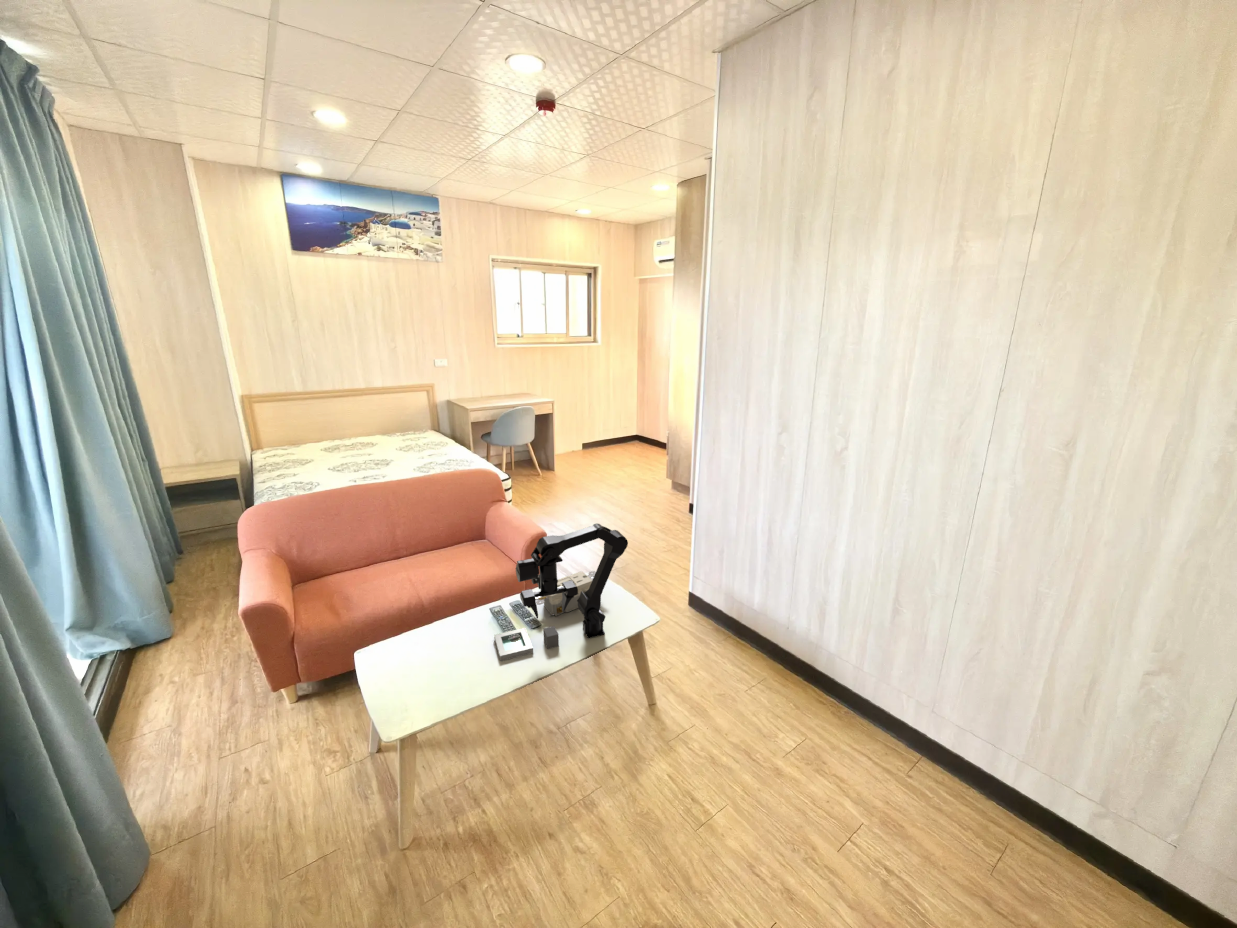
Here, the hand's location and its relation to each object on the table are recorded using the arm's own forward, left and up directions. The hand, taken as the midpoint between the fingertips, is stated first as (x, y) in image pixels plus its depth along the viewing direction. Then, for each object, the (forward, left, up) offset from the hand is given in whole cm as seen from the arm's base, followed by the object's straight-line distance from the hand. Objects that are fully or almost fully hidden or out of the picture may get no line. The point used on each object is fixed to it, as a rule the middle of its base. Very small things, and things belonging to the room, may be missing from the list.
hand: (550, 614), depth 165 cm
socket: (+13, -3, -12) cm, 17 cm away
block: (0, 0, -12) cm, 12 cm away
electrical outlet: (-13, -21, -12) cm, 27 cm away
